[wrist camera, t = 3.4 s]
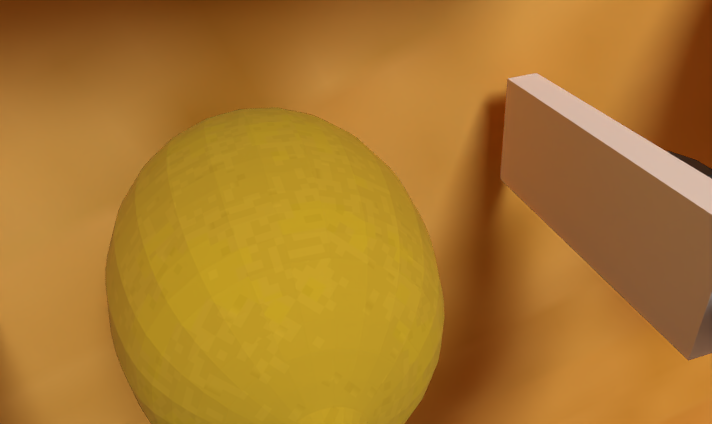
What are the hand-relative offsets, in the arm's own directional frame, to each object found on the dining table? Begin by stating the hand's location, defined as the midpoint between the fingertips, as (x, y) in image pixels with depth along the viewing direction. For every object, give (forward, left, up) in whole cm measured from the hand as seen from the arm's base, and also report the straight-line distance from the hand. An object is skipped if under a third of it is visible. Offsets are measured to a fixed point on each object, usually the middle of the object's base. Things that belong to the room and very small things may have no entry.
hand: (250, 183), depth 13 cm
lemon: (0, 0, -1) cm, 1 cm away
